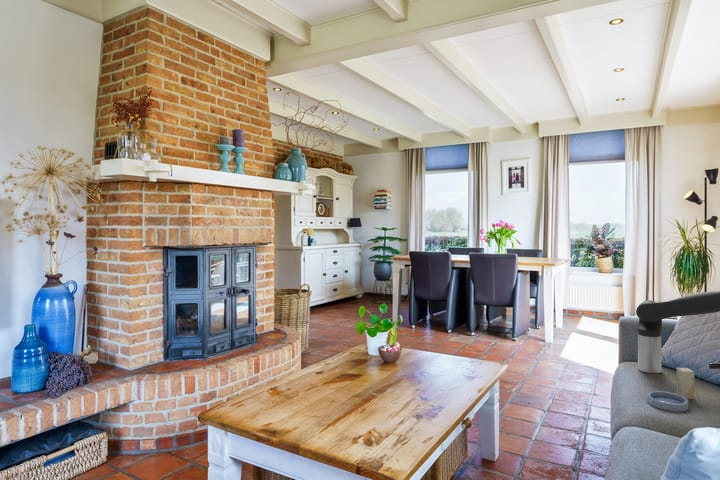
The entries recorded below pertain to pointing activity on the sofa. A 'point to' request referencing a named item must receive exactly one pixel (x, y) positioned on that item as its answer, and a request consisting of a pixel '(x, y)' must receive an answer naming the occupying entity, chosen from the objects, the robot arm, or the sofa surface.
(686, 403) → the dish
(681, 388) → the box
